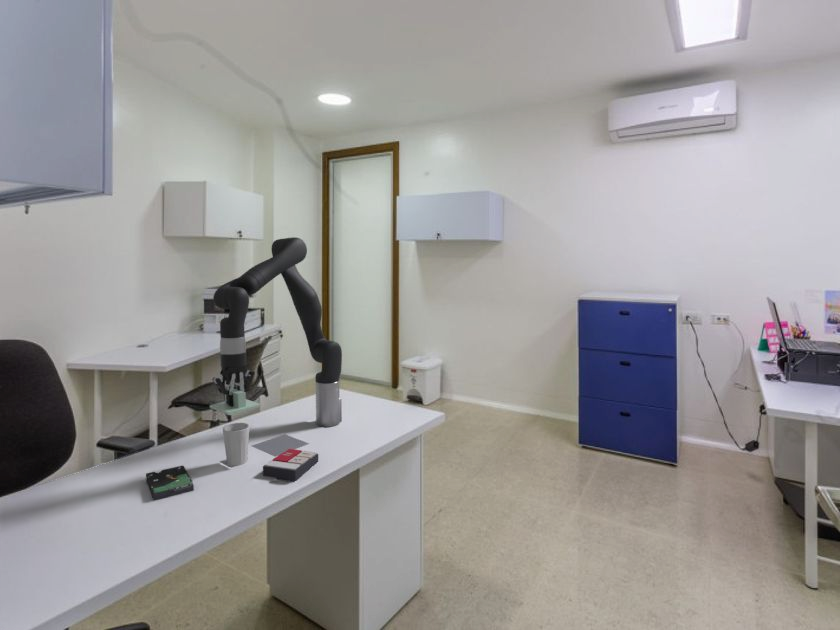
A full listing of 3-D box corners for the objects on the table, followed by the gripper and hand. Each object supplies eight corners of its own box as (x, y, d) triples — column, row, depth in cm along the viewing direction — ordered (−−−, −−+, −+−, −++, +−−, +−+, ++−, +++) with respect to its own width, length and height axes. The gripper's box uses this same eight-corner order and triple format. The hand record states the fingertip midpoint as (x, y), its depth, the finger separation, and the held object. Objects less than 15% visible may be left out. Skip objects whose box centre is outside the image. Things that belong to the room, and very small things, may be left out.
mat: (284, 435, 178) (284, 434, 178) (309, 445, 169) (309, 443, 169) (251, 447, 167) (251, 445, 167) (275, 457, 159) (275, 456, 159)
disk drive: (145, 482, 142) (153, 502, 130) (144, 473, 142) (153, 493, 130) (183, 473, 148) (195, 491, 137) (183, 464, 148) (194, 482, 136)
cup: (218, 465, 153) (216, 428, 151) (238, 456, 160) (237, 421, 158) (236, 470, 149) (234, 433, 148) (256, 460, 156) (254, 425, 155)
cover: (241, 399, 160) (240, 384, 159) (260, 406, 153) (260, 390, 153) (209, 407, 151) (208, 391, 151) (228, 415, 145) (227, 398, 144)
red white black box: (319, 451, 156) (294, 468, 142) (318, 464, 156) (294, 482, 142) (288, 447, 159) (262, 463, 145) (288, 460, 159) (262, 477, 145)
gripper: (246, 346, 158) (248, 397, 160) (205, 352, 147) (207, 407, 149) (259, 349, 153) (261, 402, 155) (218, 356, 142) (220, 412, 144)
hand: (235, 404), depth 152 cm, fingers closed on cover, 2 cm apart
